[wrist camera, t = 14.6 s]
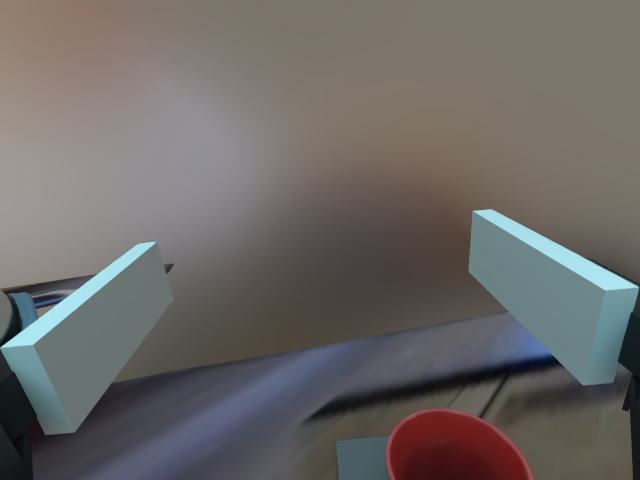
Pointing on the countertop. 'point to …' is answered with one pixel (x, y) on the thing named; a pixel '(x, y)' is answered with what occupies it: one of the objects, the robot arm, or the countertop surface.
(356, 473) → the slate coaster
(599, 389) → the countertop surface
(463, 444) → the flower pot
